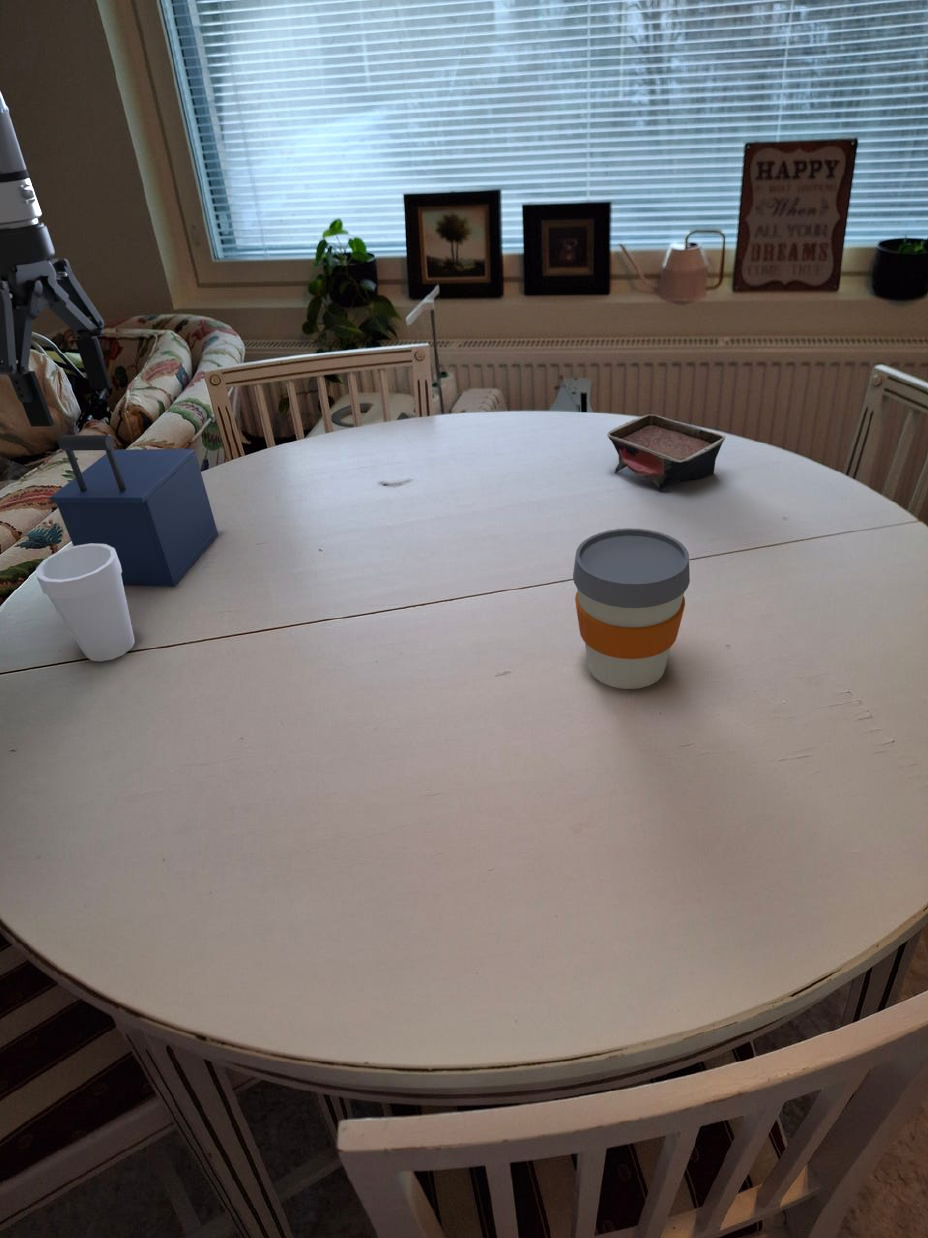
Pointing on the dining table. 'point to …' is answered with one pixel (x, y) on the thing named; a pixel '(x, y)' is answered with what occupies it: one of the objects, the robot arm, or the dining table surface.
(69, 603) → the foam cup
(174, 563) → the box
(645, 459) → the bonsai pot
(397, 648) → the dining table surface
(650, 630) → the reusable coffee cup
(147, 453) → the lid
